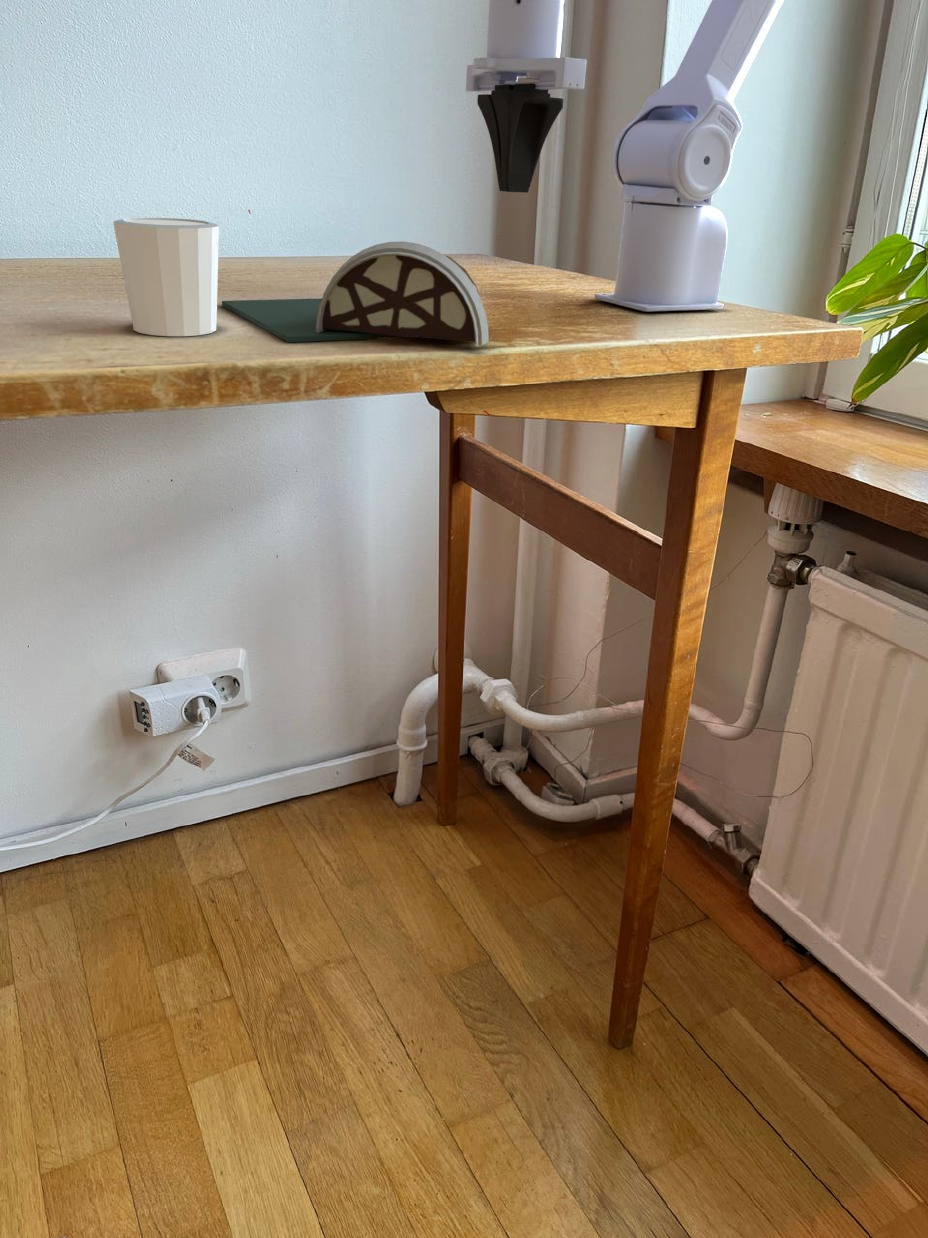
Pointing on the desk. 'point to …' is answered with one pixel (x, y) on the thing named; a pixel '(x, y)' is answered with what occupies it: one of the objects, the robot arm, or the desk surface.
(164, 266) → the white cup
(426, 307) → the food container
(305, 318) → the mat
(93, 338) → the desk surface
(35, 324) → the desk surface
